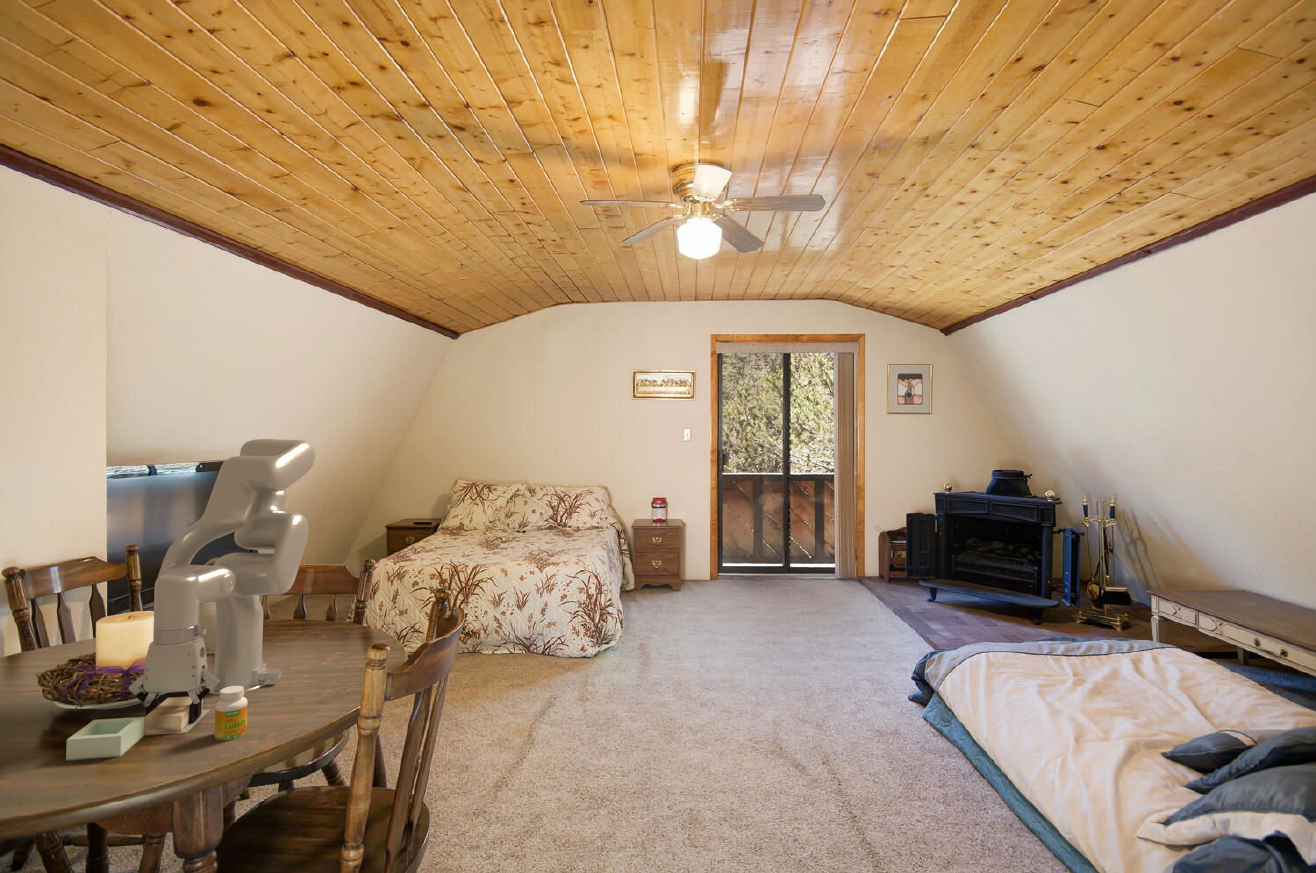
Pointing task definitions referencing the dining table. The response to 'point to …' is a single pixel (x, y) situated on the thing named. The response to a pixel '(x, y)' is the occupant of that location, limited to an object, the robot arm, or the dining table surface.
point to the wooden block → (169, 716)
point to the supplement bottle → (231, 714)
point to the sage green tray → (105, 738)
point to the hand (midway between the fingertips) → (174, 721)
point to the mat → (186, 726)
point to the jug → (208, 620)
